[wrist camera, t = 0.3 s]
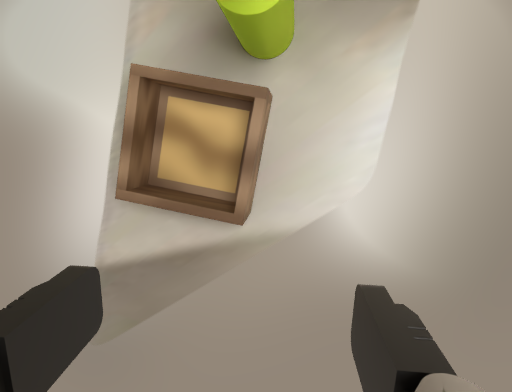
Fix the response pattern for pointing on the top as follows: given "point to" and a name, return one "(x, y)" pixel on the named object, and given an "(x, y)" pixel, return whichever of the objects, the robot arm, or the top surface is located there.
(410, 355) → the robot arm
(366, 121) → the top surface
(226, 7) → the soap dispenser
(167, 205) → the walnut box
